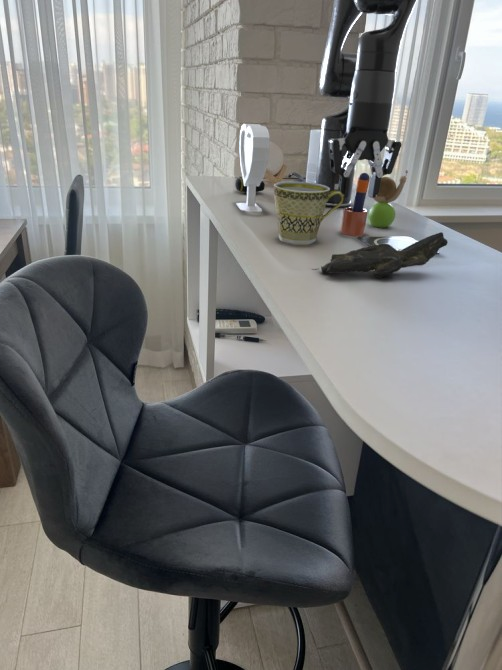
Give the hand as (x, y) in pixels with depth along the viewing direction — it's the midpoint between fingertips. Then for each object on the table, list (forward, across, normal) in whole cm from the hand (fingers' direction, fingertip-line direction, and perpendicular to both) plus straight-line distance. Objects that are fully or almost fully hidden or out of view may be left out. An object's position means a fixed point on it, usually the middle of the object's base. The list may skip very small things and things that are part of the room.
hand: (357, 196), depth 97 cm
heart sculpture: (+8, +15, -23) cm, 29 cm away
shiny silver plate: (+8, -5, +9) cm, 13 cm away
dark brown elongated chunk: (+8, +5, +23) cm, 25 cm away
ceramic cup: (+8, +11, +4) cm, 14 cm away
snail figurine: (+8, -9, -5) cm, 13 cm away
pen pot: (+8, 0, 0) cm, 8 cm away
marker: (+7, 0, 0) cm, 7 cm away
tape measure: (+8, +11, -43) cm, 45 cm away
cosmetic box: (+8, -13, -52) cm, 54 cm away
